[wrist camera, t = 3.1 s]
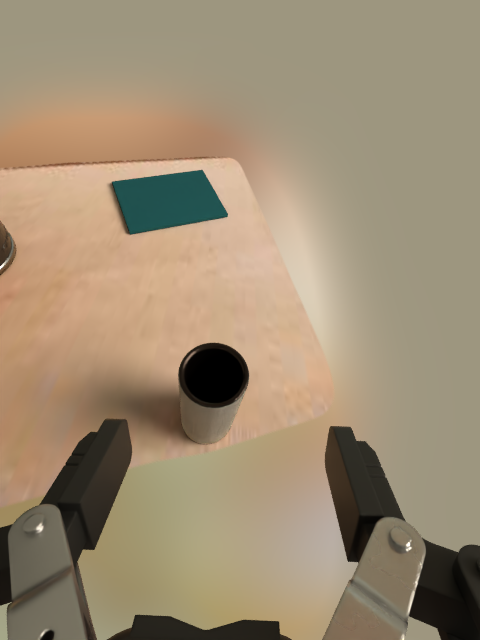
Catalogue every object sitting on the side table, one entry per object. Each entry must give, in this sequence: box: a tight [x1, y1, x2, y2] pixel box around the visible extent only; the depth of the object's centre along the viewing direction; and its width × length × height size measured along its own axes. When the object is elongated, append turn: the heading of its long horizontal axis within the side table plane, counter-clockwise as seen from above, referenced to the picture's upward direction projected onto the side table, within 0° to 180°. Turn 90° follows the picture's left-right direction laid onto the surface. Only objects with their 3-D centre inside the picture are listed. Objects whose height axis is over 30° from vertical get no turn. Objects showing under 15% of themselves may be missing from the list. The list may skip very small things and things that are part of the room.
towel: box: [112, 170, 228, 234], centre depth 44 cm, size 13×10×1 cm
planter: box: [178, 343, 249, 444], centre depth 25 cm, size 4×4×10 cm
